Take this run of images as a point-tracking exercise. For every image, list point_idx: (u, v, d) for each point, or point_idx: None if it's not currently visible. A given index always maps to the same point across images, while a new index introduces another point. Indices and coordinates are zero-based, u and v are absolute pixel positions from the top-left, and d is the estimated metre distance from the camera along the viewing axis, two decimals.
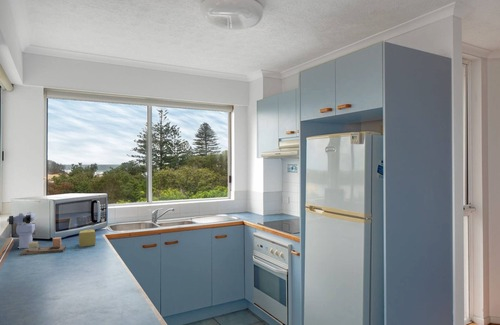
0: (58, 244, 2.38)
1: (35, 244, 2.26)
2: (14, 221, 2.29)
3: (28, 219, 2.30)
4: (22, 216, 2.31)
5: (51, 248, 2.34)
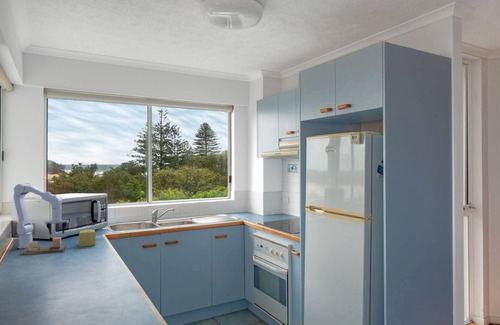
0: (58, 244, 2.38)
1: (35, 244, 2.26)
2: (62, 221, 2.40)
3: None
4: None
5: (51, 248, 2.34)
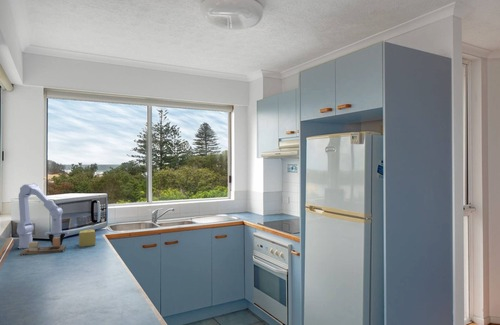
0: (58, 244, 2.38)
1: (35, 244, 2.26)
2: (62, 233, 2.40)
3: None
4: None
5: (51, 248, 2.34)
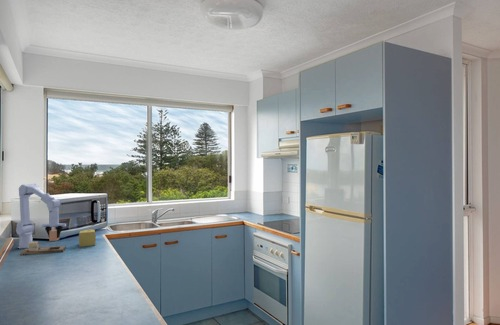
0: (55, 237, 2.29)
1: (35, 244, 2.26)
2: (59, 225, 2.31)
3: None
4: None
5: (51, 248, 2.34)
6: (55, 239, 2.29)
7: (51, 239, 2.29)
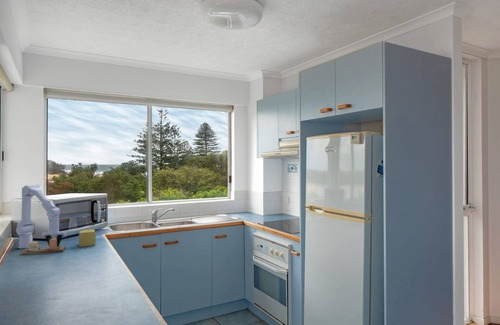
0: (55, 245, 2.29)
1: (35, 244, 2.26)
2: (59, 234, 2.31)
3: None
4: None
5: None
6: (55, 248, 2.29)
7: (51, 248, 2.29)
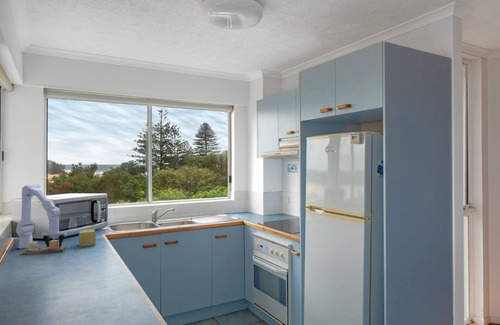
0: (55, 247, 2.29)
1: (35, 244, 2.26)
2: (59, 234, 2.31)
3: None
4: None
5: None
6: None
7: None
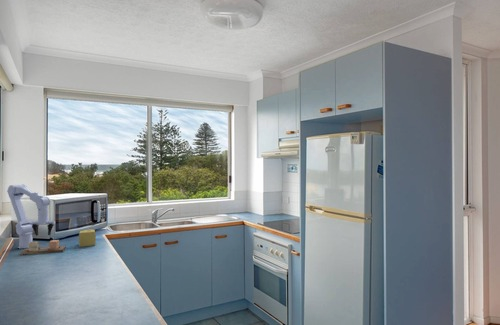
0: (55, 247, 2.29)
1: (35, 244, 2.26)
2: (47, 223, 2.35)
3: None
4: None
5: None
6: None
7: None
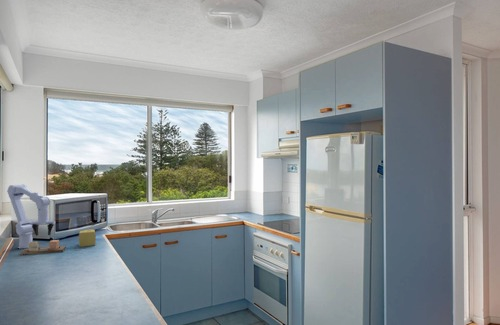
0: (55, 247, 2.29)
1: (35, 244, 2.26)
2: (47, 223, 2.35)
3: None
4: None
5: None
6: None
7: None
